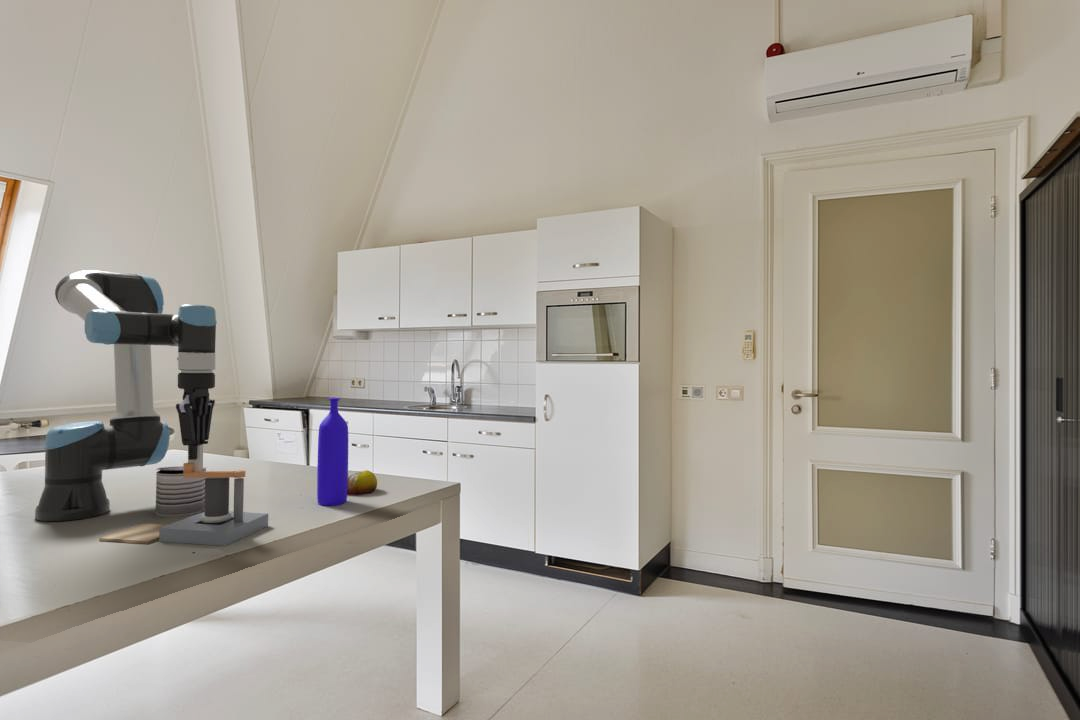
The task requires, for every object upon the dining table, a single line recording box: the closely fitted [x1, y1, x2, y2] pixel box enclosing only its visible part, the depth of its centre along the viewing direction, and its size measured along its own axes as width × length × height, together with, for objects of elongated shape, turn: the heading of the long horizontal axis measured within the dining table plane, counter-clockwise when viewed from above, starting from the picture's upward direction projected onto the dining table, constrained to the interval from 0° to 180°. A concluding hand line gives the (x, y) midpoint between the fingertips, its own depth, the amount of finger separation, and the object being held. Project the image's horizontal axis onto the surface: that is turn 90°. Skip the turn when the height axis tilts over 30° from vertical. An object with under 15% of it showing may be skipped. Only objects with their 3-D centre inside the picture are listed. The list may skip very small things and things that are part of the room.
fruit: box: [347, 470, 378, 496], centre depth 185 cm, size 11×10×8 cm
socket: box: [158, 477, 269, 547], centre depth 139 cm, size 16×16×13 cm
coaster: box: [98, 522, 167, 545], centre depth 137 cm, size 12×12×1 cm
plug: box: [201, 477, 233, 525], centre depth 139 cm, size 6×6×13 cm
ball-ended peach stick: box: [182, 462, 246, 479], centre depth 137 cm, size 13×3×3 cm, turn 99°
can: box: [155, 465, 207, 518], centre depth 158 cm, size 11×11×12 cm
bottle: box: [316, 397, 349, 507], centre depth 170 cm, size 8×8×30 cm
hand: (195, 472), depth 138 cm, fingers closed
